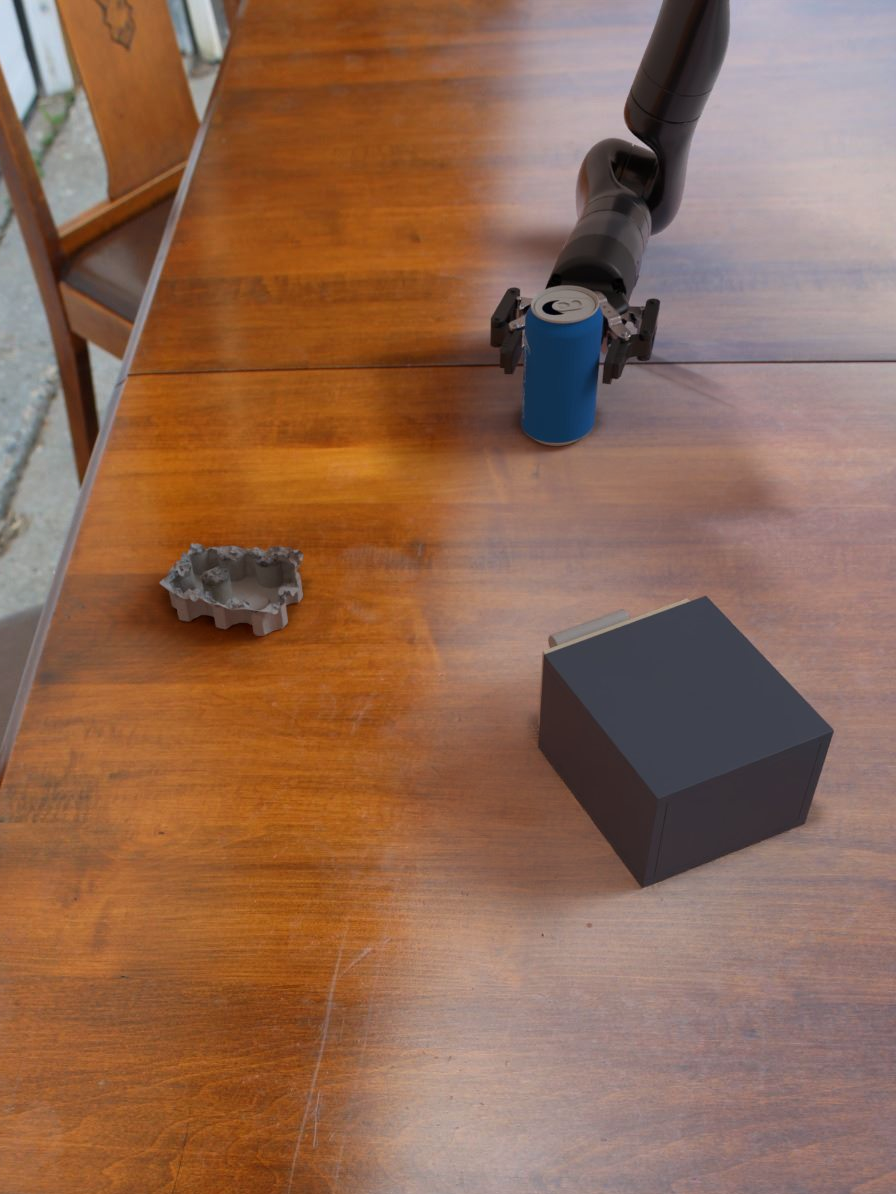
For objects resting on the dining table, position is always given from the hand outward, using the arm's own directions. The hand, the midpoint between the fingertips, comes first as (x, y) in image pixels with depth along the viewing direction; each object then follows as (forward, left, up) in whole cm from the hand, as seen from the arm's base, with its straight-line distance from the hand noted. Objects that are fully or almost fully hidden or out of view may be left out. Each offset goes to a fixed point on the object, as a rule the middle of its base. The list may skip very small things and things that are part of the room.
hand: (557, 369), depth 114 cm
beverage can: (-1, -1, -7) cm, 7 cm away
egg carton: (+34, -5, -7) cm, 35 cm away
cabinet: (+26, +33, -7) cm, 42 cm away
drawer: (+24, +30, -6) cm, 39 cm away
